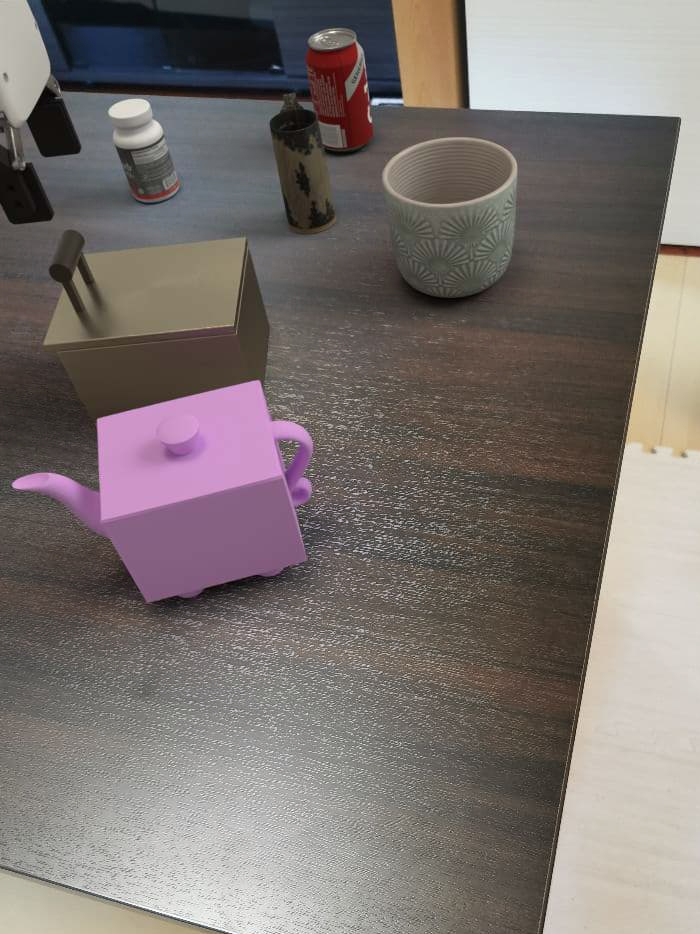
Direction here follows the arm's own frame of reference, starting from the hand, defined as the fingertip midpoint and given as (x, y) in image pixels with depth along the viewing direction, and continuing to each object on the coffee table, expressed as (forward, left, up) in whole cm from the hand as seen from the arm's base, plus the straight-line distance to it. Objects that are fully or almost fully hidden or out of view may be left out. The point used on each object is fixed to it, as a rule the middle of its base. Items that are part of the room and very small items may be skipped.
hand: (48, 185), depth 63 cm
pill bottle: (-3, +36, -20) cm, 41 cm away
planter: (+31, +13, -20) cm, 39 cm away
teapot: (+9, -20, -20) cm, 30 cm away
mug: (+16, +27, -20) cm, 37 cm away
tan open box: (+5, +1, -20) cm, 20 cm away
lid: (+4, 0, -11) cm, 12 cm away
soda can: (+20, +43, -20) cm, 51 cm away
